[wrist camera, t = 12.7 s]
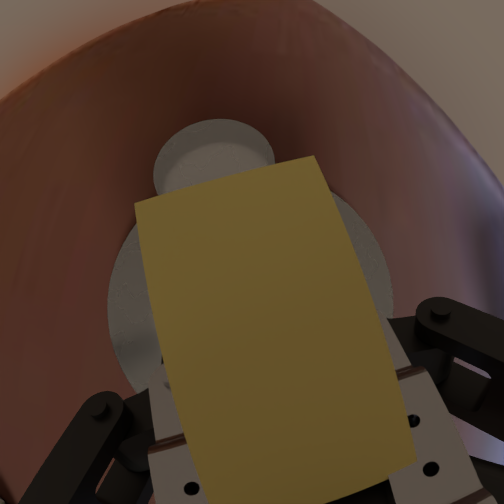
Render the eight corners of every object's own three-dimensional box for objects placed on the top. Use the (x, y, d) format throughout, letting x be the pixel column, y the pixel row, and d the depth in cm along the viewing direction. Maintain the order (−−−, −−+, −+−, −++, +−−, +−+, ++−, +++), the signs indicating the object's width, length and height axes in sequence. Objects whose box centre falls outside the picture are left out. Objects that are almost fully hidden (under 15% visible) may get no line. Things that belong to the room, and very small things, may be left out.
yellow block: (306, 391, 15) (418, 464, 3) (250, 407, 14) (218, 527, 3) (278, 300, 16) (313, 154, 5) (224, 315, 16) (134, 202, 5)
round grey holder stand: (414, 386, 16) (509, 393, 8) (154, 462, 15) (84, 519, 7) (329, 157, 21) (356, 59, 13) (104, 218, 20) (34, 145, 12)
